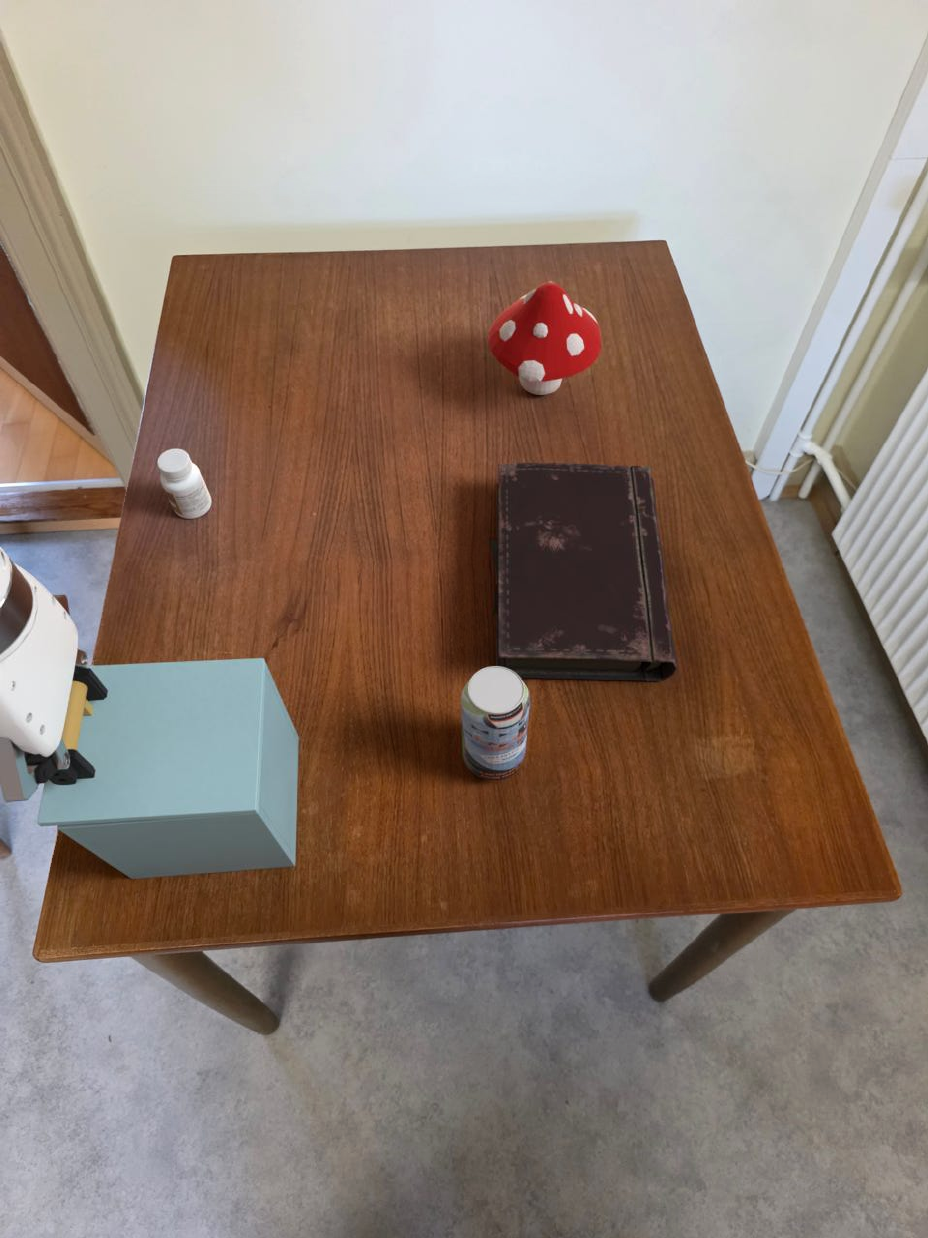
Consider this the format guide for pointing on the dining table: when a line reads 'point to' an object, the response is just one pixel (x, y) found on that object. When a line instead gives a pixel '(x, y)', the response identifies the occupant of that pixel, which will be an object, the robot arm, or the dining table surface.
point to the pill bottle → (183, 484)
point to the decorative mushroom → (545, 338)
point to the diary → (580, 573)
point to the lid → (163, 743)
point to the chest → (214, 819)
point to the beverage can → (494, 723)
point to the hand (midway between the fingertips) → (80, 734)
